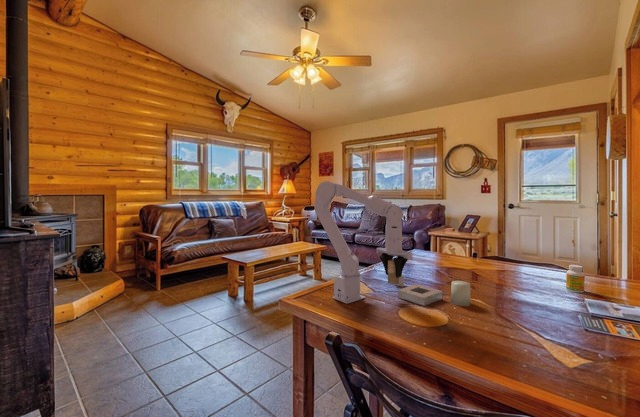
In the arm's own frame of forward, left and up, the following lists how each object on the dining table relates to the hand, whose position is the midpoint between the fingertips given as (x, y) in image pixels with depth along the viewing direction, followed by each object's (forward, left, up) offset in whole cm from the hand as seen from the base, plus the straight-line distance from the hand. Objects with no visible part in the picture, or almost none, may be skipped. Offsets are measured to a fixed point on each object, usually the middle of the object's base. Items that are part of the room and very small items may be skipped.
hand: (393, 275), depth 111 cm
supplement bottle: (+61, -38, -9) cm, 73 cm away
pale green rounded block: (+15, -17, -9) cm, 24 cm away
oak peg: (0, 0, -3) cm, 2 cm away
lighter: (+15, +11, -9) cm, 21 cm away
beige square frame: (+8, -6, -9) cm, 13 cm away
